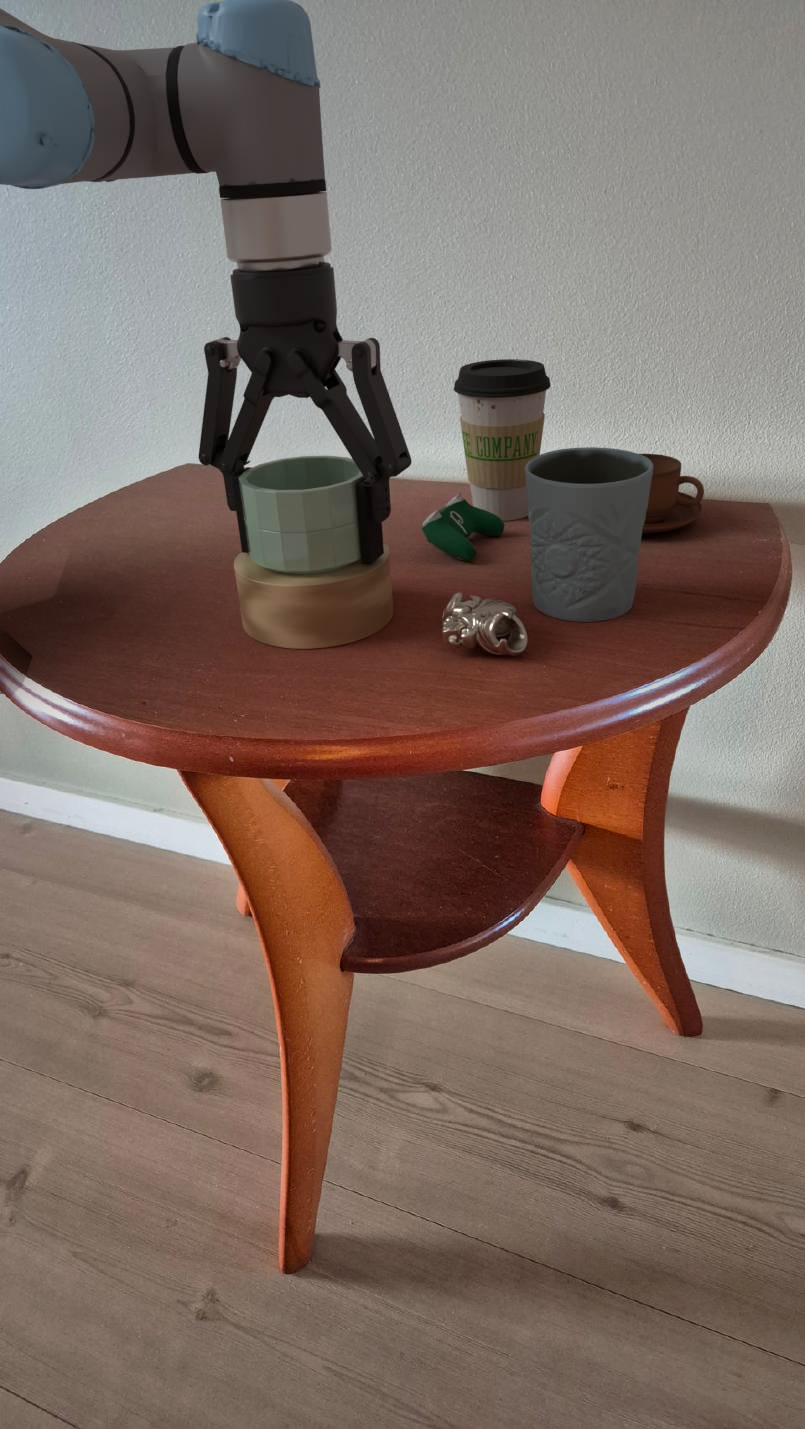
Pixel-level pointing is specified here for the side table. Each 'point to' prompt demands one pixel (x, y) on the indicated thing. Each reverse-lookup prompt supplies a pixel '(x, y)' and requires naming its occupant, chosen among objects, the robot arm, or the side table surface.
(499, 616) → the ornament
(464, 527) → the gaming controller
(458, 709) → the side table surface
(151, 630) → the side table surface
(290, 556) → the bowl
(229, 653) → the side table surface
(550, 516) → the blue-grey embossed tumbler
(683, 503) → the cup and saucer
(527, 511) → the coffee cup
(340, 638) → the stand
